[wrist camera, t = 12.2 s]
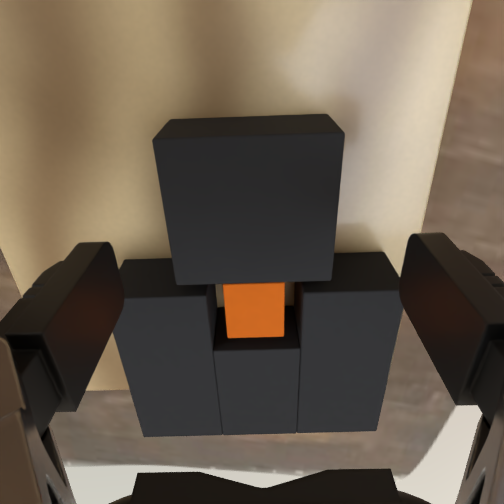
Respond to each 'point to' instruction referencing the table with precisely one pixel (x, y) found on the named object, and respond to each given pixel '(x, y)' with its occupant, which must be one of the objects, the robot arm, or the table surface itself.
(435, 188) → the table surface
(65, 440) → the table surface
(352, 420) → the dark grey u-shaped block
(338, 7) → the board
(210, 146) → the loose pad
